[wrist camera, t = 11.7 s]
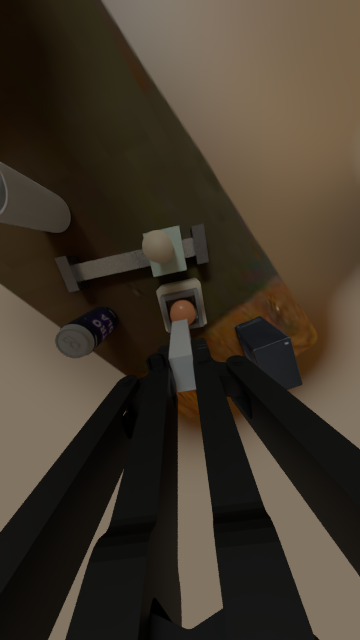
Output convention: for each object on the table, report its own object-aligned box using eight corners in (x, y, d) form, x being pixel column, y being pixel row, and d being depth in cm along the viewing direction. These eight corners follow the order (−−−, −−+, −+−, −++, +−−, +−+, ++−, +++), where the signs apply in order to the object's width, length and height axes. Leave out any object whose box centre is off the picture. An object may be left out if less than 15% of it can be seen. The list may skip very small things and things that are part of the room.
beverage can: (109, 335, 37) (78, 367, 26) (87, 319, 36) (45, 345, 25) (124, 317, 36) (98, 343, 25) (102, 300, 35) (64, 318, 23)
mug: (80, 218, 30) (20, 191, 19) (56, 242, 31) (-15, 232, 20) (34, 161, 27) (-69, 90, 16) (9, 191, 29) (-103, 144, 17)
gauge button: (168, 300, 26) (167, 305, 23) (191, 295, 26) (193, 299, 23) (173, 321, 27) (173, 328, 24) (195, 317, 27) (197, 323, 24)
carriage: (146, 236, 31) (120, 216, 17) (178, 229, 30) (177, 202, 17) (156, 275, 33) (139, 285, 19) (186, 269, 32) (190, 274, 19)
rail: (67, 258, 32) (54, 258, 29) (200, 227, 30) (203, 223, 27) (79, 289, 34) (69, 292, 31) (205, 261, 32) (209, 261, 29)
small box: (232, 326, 37) (251, 350, 27) (260, 314, 36) (291, 335, 26) (246, 364, 40) (268, 397, 30) (273, 353, 39) (305, 385, 29)
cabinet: (161, 284, 34) (153, 294, 24) (195, 277, 33) (202, 284, 23) (169, 317, 36) (165, 339, 26) (201, 311, 36) (209, 330, 26)
